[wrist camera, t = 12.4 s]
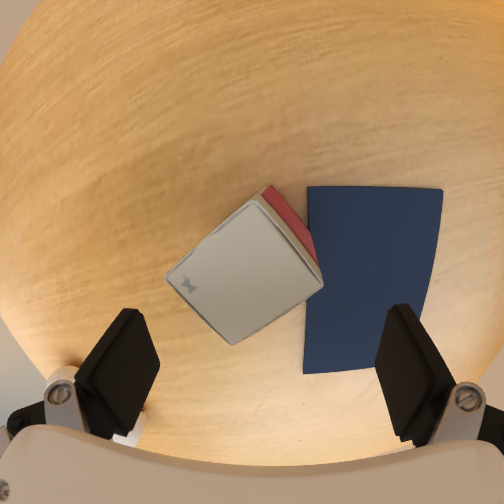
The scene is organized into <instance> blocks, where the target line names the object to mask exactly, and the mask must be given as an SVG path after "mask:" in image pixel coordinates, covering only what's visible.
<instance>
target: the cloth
mask: <svg viewBox="0 0 504 504" xmlns="http://www.w3.org/2000/svg"><path fill="white" fill-rule="evenodd" d="M307 190H308V230H309V232H310V234H311V237H312V241H313V245H314V248H315V252H316V256H317V260H318V264H319V268H320V271H321V275H322V279H323V284H324V286H323V287H322V288H321V289H320V290H318V291H317V292H315V293H314V294H313V295H311V296H310V297H309V298H308V299H307V308H306V330H305V347H304V362H303V374H315V373H328V372H339V371H348V370H357V369H365V368H372V367H375V358H376V354H377V351H378V347H379V344H380V340H381V336H382V332H383V328H384V324H385V320H386V316H387V312H388V309H390V308H392V306H393V305H394V304H402V303H408V304H409V305H410V307H411V308H412V310H413V311H414V313H415V314H416V316H417V317H418V319H420V316H421V312H422V309H423V305H424V301H425V298H426V294H427V290H428V286H429V281H430V277H431V272H432V268H433V263H434V258H435V252H436V247H437V241H438V234H439V228H440V220H441V212H442V202H443V190H441V189H426V188H406V187H375V186H310V187H307Z"/></svg>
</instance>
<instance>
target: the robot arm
mask: <svg viewBox="0 0 504 504" xmlns="http://www.w3.org/2000/svg"><path fill="white" fill-rule="evenodd" d="M159 368H160V361H159V358H158V355H157V353H156V350H155V348H154V345H153V342H152V339H151V336H150V334H149V331H148V328H147V325H146V322H145V319H144V316H143V314H142V313H140V312H139V310H138V309H130V308H124V309H123V310H122V311H121V312H120V313H119V315H118V316H117V317H116V319H115V320H114V321H113V322H112V324H111V325H110V326H109V328H108V329H107V330H106V332H105V333H104V334H103V336H102V337H101V339H100V340H99V341H98V343H97V344H96V345H95V347H94V348H93V350H92V351H91V352H90V354H89V355H88V357H87V358H86V359H85V361H84V362H83V364H82V365H81V367H80V368H79V369H78V371H77V372H76V374H75V375H74V379H75V382H74V383H72V382H71V381H69V380H64V379H62V380H57V381H55V382H53V383H52V384H51V385H49V386H48V388H47V389H46V391H45V393H44V400H43V401H41V402H38V403H35V404H33V405H30V406H27V407H25V408H21V409H19V410H16V411H15V412H13V413H12V414H11V415H10V417H9V418H8V421H7V427H6V426H5V425H3V426H2V427H0V504H504V411H502V410H499V409H497V408H494V407H491V406H489V405H487V404H486V397H485V393H484V392H483V390H482V389H481V388H480V387H479V386H478V385H476V384H474V383H471V382H461V383H459V384H456V382H455V380H454V378H453V377H452V375H451V373H450V371H449V369H448V367H447V365H446V364H445V362H444V360H443V358H442V356H441V355H440V353H439V351H438V350H437V348H436V346H435V344H434V343H433V341H432V339H431V338H430V337H429V335H428V333H427V332H426V330H425V329H424V327H423V325H422V324H421V322H420V321H419V319H418V317H417V316H416V314H415V313H414V311H413V310H412V308H411V307H410V305H409V304H408V303H402V304H394V305H393V306H392V308H390V309H388V312H387V316H386V320H385V324H384V328H383V332H382V336H381V340H380V344H379V347H378V351H377V354H376V358H375V369H376V372H377V375H378V378H379V382H380V385H381V388H382V391H383V394H384V398H385V401H386V404H387V408H388V411H389V415H390V418H391V422H392V425H393V429H394V433H395V435H396V436H399V437H400V440H401V442H405V441H409V440H412V442H413V445H414V447H413V449H409V450H405V451H402V452H397V453H392V454H388V455H383V456H378V457H372V458H366V459H360V460H353V461H346V462H339V463H329V464H318V465H303V466H247V465H232V464H221V463H212V462H204V461H197V460H190V459H184V458H178V457H173V456H168V455H163V454H158V453H154V452H149V451H145V450H141V449H137V448H134V447H130V446H126V445H123V444H119V443H116V442H114V441H113V438H112V437H113V435H114V433H115V434H116V435H119V436H123V437H126V438H127V435H128V433H129V432H131V431H132V430H133V429H134V426H135V424H136V422H137V419H138V417H139V415H140V412H141V410H142V407H143V405H144V403H145V401H146V398H147V396H148V394H149V391H150V389H151V387H152V385H153V382H154V380H155V378H156V375H157V373H158V371H159Z"/></svg>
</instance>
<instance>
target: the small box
mask: <svg viewBox="0 0 504 504" xmlns="http://www.w3.org/2000/svg"><path fill="white" fill-rule="evenodd" d="M164 279H165V280H166V281H167V282H168V284H169V285H170V286H171V287H172V288H173V289H174V290H175V291H176V292H177V293H178V294H179V296H180V297H181V298H182V299H183V300H184V301H185V302H186V303H187V304H188V305H189V306H190V307H191V308H192V309H193V311H195V312H196V313H197V314H198V315H199V316H200V317H201V318H202V319H203V320H204V321H205V322H206V323H207V324H208V325H209V326H210V327H211V328H212V329H213V330H214V331H215V332H216V333H217V334H219V335H220V336H221V337H222V338H223V339H224V340H225V341H226V342H227V343H228V344H230V345H235V344H237V343H239V342H241V341H242V340H244V339H246V338H248V337H249V336H251V335H253V334H254V333H256V332H258V331H259V330H261V329H263V328H264V327H266V326H268V325H269V324H271V323H272V322H274V321H275V320H277V319H278V318H280V317H282V316H283V315H284V314H286V313H287V312H289V311H290V310H292V309H293V308H295V307H296V306H298V305H299V304H300V303H302V302H303V301H305V300H306V299H308V298H309V297H310V296H311V295H313V294H314V293H315V292H317V291H318V290H320V289H321V288H322V287H323V286H324V284H323V279H322V275H321V271H320V268H319V264H318V260H317V256H316V252H315V248H314V245H313V241H312V237H311V234H310V232H309V230H308V229H307V227H306V226H305V225H304V224H303V222H302V221H301V220H300V218H299V217H298V216H297V214H296V213H295V212H294V211H293V209H292V208H291V207H290V206H289V205H288V203H287V202H286V201H285V200H284V199H283V197H282V196H281V195H280V194H279V193H278V192H277V191H276V190H275V188H274V187H273V186H272V185H270V184H267V185H265V186H264V187H263V188H262V189H260V190H259V191H258V192H257V193H255V194H254V195H253V196H252V197H251V198H249V199H248V200H247V201H246V202H245V203H243V204H242V205H241V206H240V207H239V208H238V209H236V210H235V211H234V212H233V213H232V214H231V215H230V216H228V217H227V218H226V219H225V220H224V221H223V222H222V223H221V224H220V225H218V226H217V227H216V228H215V229H214V230H213V231H212V232H211V233H209V234H208V235H207V236H206V237H205V238H204V239H203V240H202V241H201V242H199V243H198V244H197V245H196V246H195V247H194V248H193V249H192V250H191V251H190V252H189V253H188V254H187V255H186V256H184V257H183V258H182V259H181V260H180V261H179V262H178V263H177V264H176V265H175V266H174V267H173V268H172V269H171V270H170V271H168V272H167V273H166V274H165V276H164Z"/></svg>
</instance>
